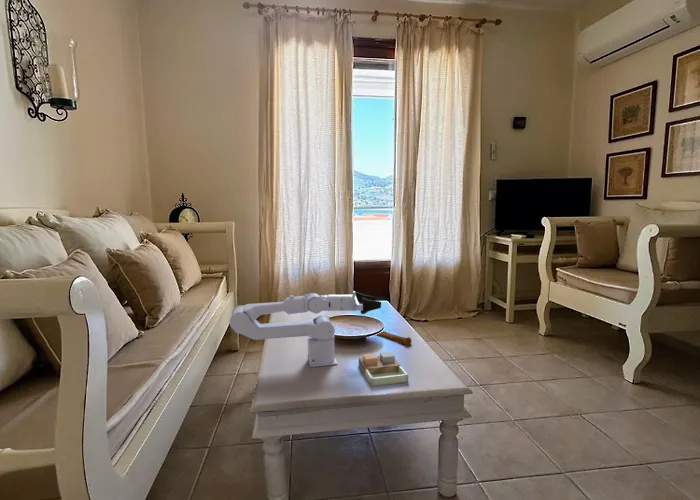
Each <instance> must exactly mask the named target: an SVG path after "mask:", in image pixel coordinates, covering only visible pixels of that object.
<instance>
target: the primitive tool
mask: <svg viewBox="0 0 700 500" xmlns="http://www.w3.org/2000/svg"><path fill="white" fill-rule="evenodd" d="M382 331H383V332H381V333H379V334H377V335H376V336H377V337H381V338H384V339H388V340H390V341H393V342H398V343H400V344H404V345H405V347H408V346H411V344H412V338H411V337H409V336H408V337H405V336H399V335H397V334H393V333H390V332H387V331H386V330H382Z"/></svg>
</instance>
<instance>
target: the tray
mask: <svg viewBox="0 0 700 500" xmlns="http://www.w3.org/2000/svg"><path fill="white" fill-rule="evenodd" d="M364 376H365V378H366V380H367V382H368V383H369V385H370V387H379V386H386V385H395V384H402V383H403V384H404V383H409V374H408V373H407V372H406V370H405V368H404V367H402V365H401V366H399V372H391V373H382V374H373V375H371V374H370V372H369V371H368V369H365V375H364Z"/></svg>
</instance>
